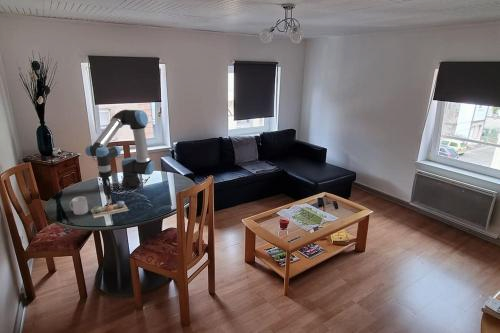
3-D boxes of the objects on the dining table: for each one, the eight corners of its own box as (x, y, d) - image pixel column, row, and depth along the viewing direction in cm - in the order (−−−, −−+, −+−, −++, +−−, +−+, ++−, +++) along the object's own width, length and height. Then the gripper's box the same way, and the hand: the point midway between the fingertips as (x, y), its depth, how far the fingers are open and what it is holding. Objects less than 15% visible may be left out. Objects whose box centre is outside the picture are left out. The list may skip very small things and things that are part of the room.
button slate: (116, 206, 218) (116, 201, 217) (123, 205, 221) (123, 200, 219) (118, 209, 214) (117, 204, 213) (125, 207, 217) (124, 202, 216)
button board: (90, 211, 214) (90, 209, 213) (123, 204, 226) (123, 202, 225) (94, 219, 202) (94, 217, 201) (129, 211, 214) (129, 210, 213)
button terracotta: (105, 210, 214) (104, 205, 213) (112, 209, 217) (112, 204, 216) (106, 213, 210) (106, 208, 209) (114, 211, 213) (113, 206, 212)
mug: (75, 209, 215) (73, 195, 212) (91, 211, 213) (89, 196, 210) (66, 215, 207) (64, 200, 204) (83, 216, 205) (80, 201, 202)
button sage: (93, 211, 210) (92, 206, 209) (101, 209, 212) (100, 204, 211) (94, 214, 206) (93, 209, 205) (102, 212, 209) (101, 207, 207)
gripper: (96, 168, 208) (101, 200, 215) (100, 174, 198) (105, 207, 205) (108, 167, 212) (113, 198, 219) (113, 172, 202) (117, 205, 209)
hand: (109, 202), depth 212 cm, fingers closed
